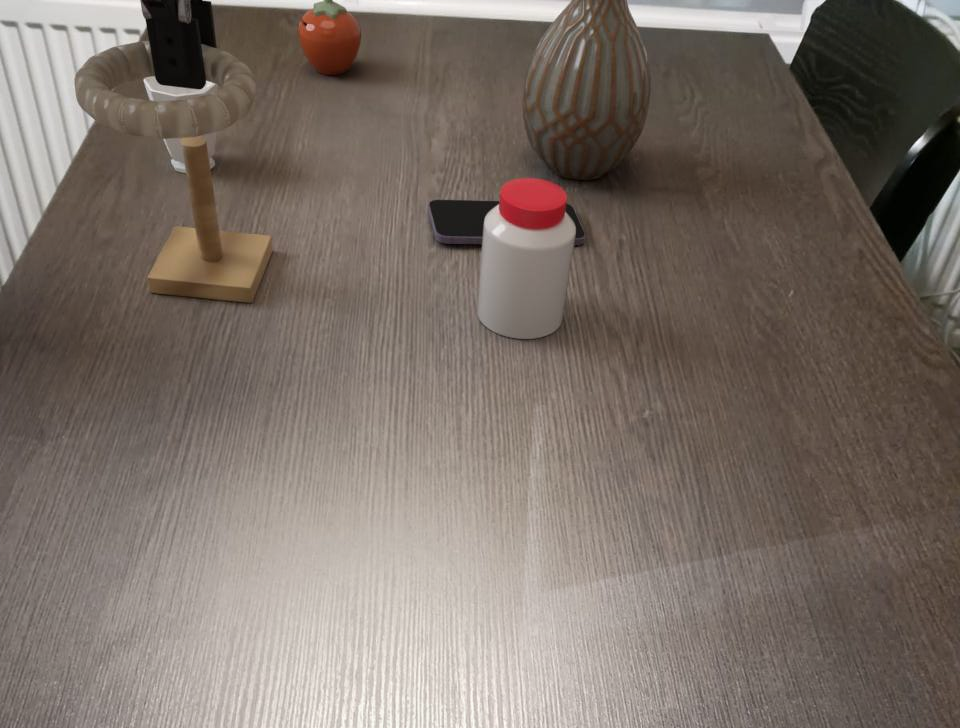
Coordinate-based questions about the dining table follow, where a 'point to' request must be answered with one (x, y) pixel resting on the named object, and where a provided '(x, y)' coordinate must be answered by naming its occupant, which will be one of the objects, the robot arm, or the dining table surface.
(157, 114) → the ring
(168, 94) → the cup
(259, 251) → the post
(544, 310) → the pill bottle
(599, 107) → the vase
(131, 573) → the dining table surface
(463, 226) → the smartphone
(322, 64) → the tomato
